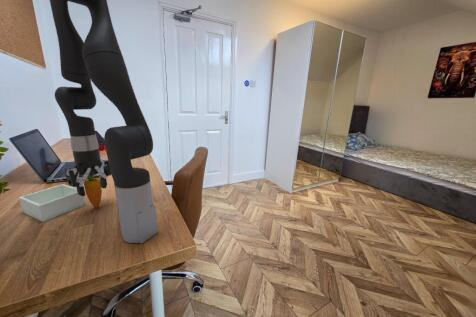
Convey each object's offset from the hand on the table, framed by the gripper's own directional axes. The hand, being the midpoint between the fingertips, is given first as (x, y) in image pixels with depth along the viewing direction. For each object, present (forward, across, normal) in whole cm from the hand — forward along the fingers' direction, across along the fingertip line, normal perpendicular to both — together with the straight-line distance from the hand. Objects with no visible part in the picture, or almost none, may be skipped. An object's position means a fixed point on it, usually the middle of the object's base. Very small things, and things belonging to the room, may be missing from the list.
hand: (93, 191), depth 77 cm
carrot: (+7, 0, 0) cm, 7 cm away
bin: (+7, -7, +13) cm, 16 cm away
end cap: (+7, +12, +34) cm, 37 cm away
